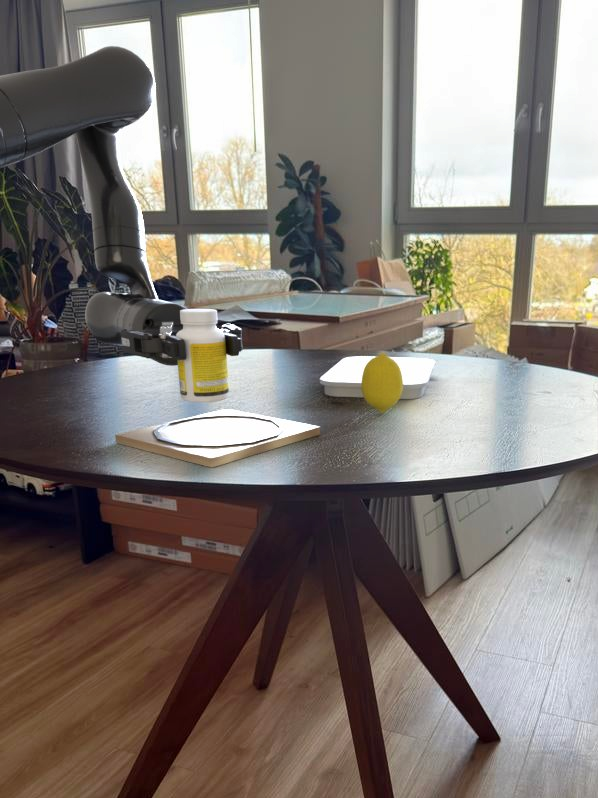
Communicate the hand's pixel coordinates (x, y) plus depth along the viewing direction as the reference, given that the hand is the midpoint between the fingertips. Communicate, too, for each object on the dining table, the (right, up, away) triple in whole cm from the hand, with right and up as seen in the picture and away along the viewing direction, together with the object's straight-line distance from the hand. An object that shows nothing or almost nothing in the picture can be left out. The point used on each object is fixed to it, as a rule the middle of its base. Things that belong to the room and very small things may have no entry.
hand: (209, 348), depth 78 cm
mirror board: (0, -9, +6) cm, 11 cm away
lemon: (+19, -5, +19) cm, 27 cm away
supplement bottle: (-2, -5, +4) cm, 7 cm away
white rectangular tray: (+19, +3, +40) cm, 44 cm away
